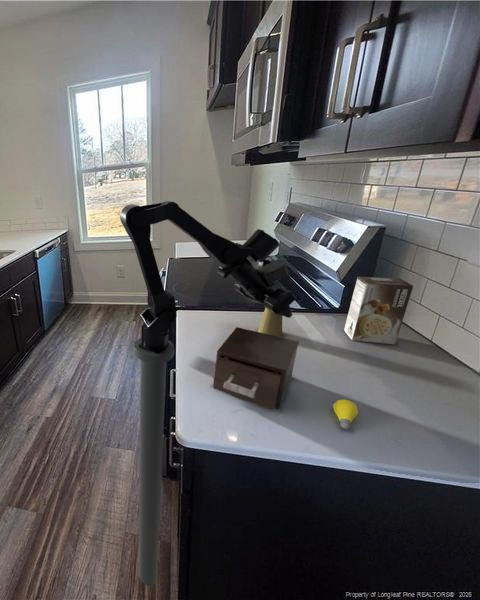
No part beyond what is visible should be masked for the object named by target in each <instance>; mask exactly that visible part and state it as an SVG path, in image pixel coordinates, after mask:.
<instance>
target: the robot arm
mask: <svg viewBox="0 0 480 600" xmlns="http://www.w3.org/2000/svg"><path fill="white" fill-rule="evenodd" d="M119 220H120V223H121V224H122V227H123V229H124V230H125V232H126V234H127V235H128V237H129V239H130V240H131V243H132V244H133V248H134V251H135V254H136V257H137V260H138V263H139V264H138V265H139V266H140V270H141V274H142V276H143V280H144V283H145V286H146V290H147V296H146V297H147V299H146V301H147V307H146V308H145V309H144V310H143V311H142V312H141V313H140V314H139V317H140V319H141V321H142V322H143V324H142V325H141V336H140V338H141V344H139V345H138V347H139V348H142V349H145V350H148V351H151V352H154V353H157V354H159V353H161V352H162V351H163V350H164V349H165V348H166V347H167V346H168V345H169V343H168V340H169V337H170V336H169V334H170V333H169V329H170V327H171V325H172V323H173V322H174V321H175V319H176V318H177V316H178V315H177V312H179V309H178V307H177V306H176V298H175V296H174V295H173V294H172V293H171V292H170V291H169V290H168V289H165V288H164V283H163V282H162V278H161V273H160V270H159V268H158V263H157V259H156V256H155V253H154V249H153V245H152V242H151V234H152V233H151V232H152V226H151V225H156V224H158V223H162V222H164V221H169V222H170V223H171V224H173V226H175V227H176V228H178V229H179V230H181V231H182V232H184V234H186V235H187V236H188V237H190V239H193V240H194V241H195V242H196V243H197V244H199V246H200V248H201V249H202V250H203V251H204V253H205V254H206V255H207V256H208V257H209V258H210V259H211V260H213V261H216V262H217V263H220V264H221V265H219V266H218V270H217V275H218V276H219V277H221V278H223V279H227V278H228V277H229V276H230V277H231V278H232V279H233V280H234V281H235V282H234V283H233V289H235V290H236V292H238V293H239V294H241V295H243V296H244V297H245V298H249V299H251V300H253V301H256V302H258V303H261V304H263V307H264V308H267V309H268V310H269V311H271V312H272V313H274V314H276V315H277V314H278V315H282V317H285V318H288V319H291V318H292V316H293V313H292V309H291V304H293V303H294V301H296V300H297V296H296V294H295V293H293V291H290V290H288V289H287V288H284V287H278V288H276V289H273V287H274V286H275V285H276V281H278V280H280V279H281V278H283V277H287V276H288V275H289V270H288V268H287V264H286V263H285V262H283V261H280V260H277V259H271V260H269V259H268V257H269V256H270V255H271V254H273V253H274V252H275V251H276V250H277V249H278V248H279V247H280V242H279V241H278V239H276V238H274V237H273V236H272V235H270V234H269V233H267V232H265V231H264V229H260V228H257V229H256V230H255V231H254V232H253V233H252V235H251V236H250V237H249V238H248V239H246V241H245V242H244V243H243V244H241V243H238V242H234V241H232V240H229V239H227V238H225V237H223V236H221V235H219V234H216V233H215V232H213V231H212V230H211V229H209V228H207V226H205V225H204V224H202V223H201V222H200V221H199V220H198V219H196V218H195V217H193V216H192V215H191V214H190V213H188V212H187V211H185V210H184V209H183V208H182V207H180V205H179V204H178V203H177V202H175V201H170V200H164V201H162V202H158V203H151V204H144V205H138V204H135V203H129V204H127V205H125V206H124V207H123V208H122V209H121V211H120V213H119ZM257 262H258V268H256V267H255V266H254V264H256V263H257ZM253 263H254V264H253ZM267 297H268V298H267ZM266 298H267V299H266ZM265 299H266V300H265Z"/></svg>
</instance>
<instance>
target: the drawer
mask: <svg viewBox="0 0 480 600" xmlns="http://www.w3.org/2000/svg"><path fill="white" fill-rule="evenodd" d="M215 366H216V372H215V371H214V376H215V381H214V380H213V384H214V387H213V389H214V390H217V391H219V392H223V393H225V394H229V395H231V396H234V397H237V398H239V399H242V400H245V401H247V402H250V403H253V404H256V405H259V406H261V407H265V408H267V409H270V410H273V411H275V410H276V409H275V407H276V402H277V397H278V392H279V387H280V382H281V377H282V375H281V373H280V372H277V371H273V370H270V369H266V368H263V367H259V366H256V365H253V364H249V363H246V362H242V361H239V360H235V359H232V358H228V357H225V356H224V358H221V357H218V358H217V363H216V362H215Z"/></svg>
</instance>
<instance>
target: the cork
mask: <svg viewBox="0 0 480 600" xmlns="http://www.w3.org/2000/svg"><path fill="white" fill-rule="evenodd" d="M267 298H268V297H267ZM267 298H266V299H267ZM266 299H265V300H266ZM257 332H260V333H264V334H269V335H273V336H278V337H282V336H283V316H282V315H278V314H277V315H276V314H274V313H272V312H271V311H269V310H268V309H267V308H266V307H264V311H263V313H262V317H261V320H260V324H259V326H258V329H257Z"/></svg>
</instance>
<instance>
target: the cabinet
mask: <svg viewBox="0 0 480 600" xmlns="http://www.w3.org/2000/svg"><path fill="white" fill-rule="evenodd" d="M299 343H300V341H299V340H295V339H290V338H286V337H282V336H281V337H278V336H273V335H269V334H264V333H260V332H258V331H255V330H251V329H247V328H242V327H238V326H237V327H235V328H234V330H233V331H232V332H231V333H230V334H229V336H228V337H227V338H226V339H225V341H224V342H223V343H222V344H221V346H220V347H219V348H218V349H217V351H216V357H215V364H216V363H217V358H218V357H221V358H224V356H225V357H228V358H232V359H235V360H239V361H242V362H246V363H249V364H253V365H256V366H259V367H263V368H266V369H270V370H273V371H277V372H280V373H281V375H282V377H281V382H280V387H279V392H278V397H277V402H276V407H275V409H274V410H278V411H280V408H281V406H282V404H283V400H284V398H285V396H286V393H287V390H288V388H289V385H290V382H291V380H292V377H293V371H294V367H295V363H296V358H297V352H298V348H299ZM215 372H216V365H215V367H214V373H215ZM214 381H215V375H214V377H213V382H214ZM212 387H213V388H214V383H213V385H212Z"/></svg>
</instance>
